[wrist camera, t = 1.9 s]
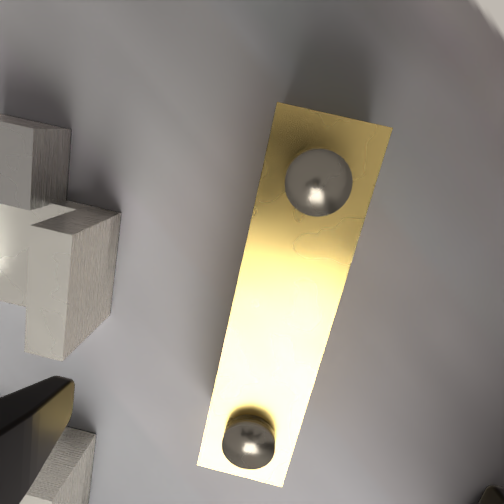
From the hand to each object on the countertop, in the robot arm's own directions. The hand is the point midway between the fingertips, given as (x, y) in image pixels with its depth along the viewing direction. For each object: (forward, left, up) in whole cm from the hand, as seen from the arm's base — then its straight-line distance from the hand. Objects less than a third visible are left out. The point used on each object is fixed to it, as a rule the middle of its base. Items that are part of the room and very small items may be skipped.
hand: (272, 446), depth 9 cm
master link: (0, 0, -10) cm, 10 cm away
